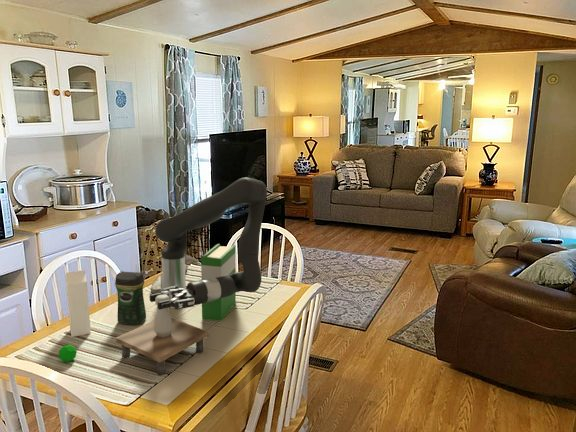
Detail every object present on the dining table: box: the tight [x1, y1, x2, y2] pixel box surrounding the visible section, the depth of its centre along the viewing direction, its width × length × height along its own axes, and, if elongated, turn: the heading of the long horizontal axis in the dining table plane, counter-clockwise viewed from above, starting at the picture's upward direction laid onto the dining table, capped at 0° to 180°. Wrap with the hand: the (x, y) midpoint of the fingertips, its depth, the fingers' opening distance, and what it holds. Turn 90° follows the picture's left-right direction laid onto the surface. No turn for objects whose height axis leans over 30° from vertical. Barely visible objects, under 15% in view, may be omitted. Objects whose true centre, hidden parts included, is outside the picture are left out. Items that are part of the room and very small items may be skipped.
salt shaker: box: [154, 295, 173, 338], centre depth 146 cm, size 6×6×13 cm
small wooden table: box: [115, 317, 209, 376], centre depth 148 cm, size 20×20×6 cm
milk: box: [65, 269, 92, 338], centre depth 159 cm, size 6×6×22 cm
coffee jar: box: [114, 270, 147, 326], centre depth 169 cm, size 10×8×19 cm
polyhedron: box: [58, 344, 77, 363], centre depth 143 cm, size 5×5×5 cm
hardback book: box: [200, 243, 237, 322], centre depth 179 cm, size 18×7×24 cm, turn 169°
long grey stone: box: [150, 263, 189, 294], centre depth 211 cm, size 35×5×10 cm
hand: (154, 302), depth 144 cm, fingers open, 6 cm apart
